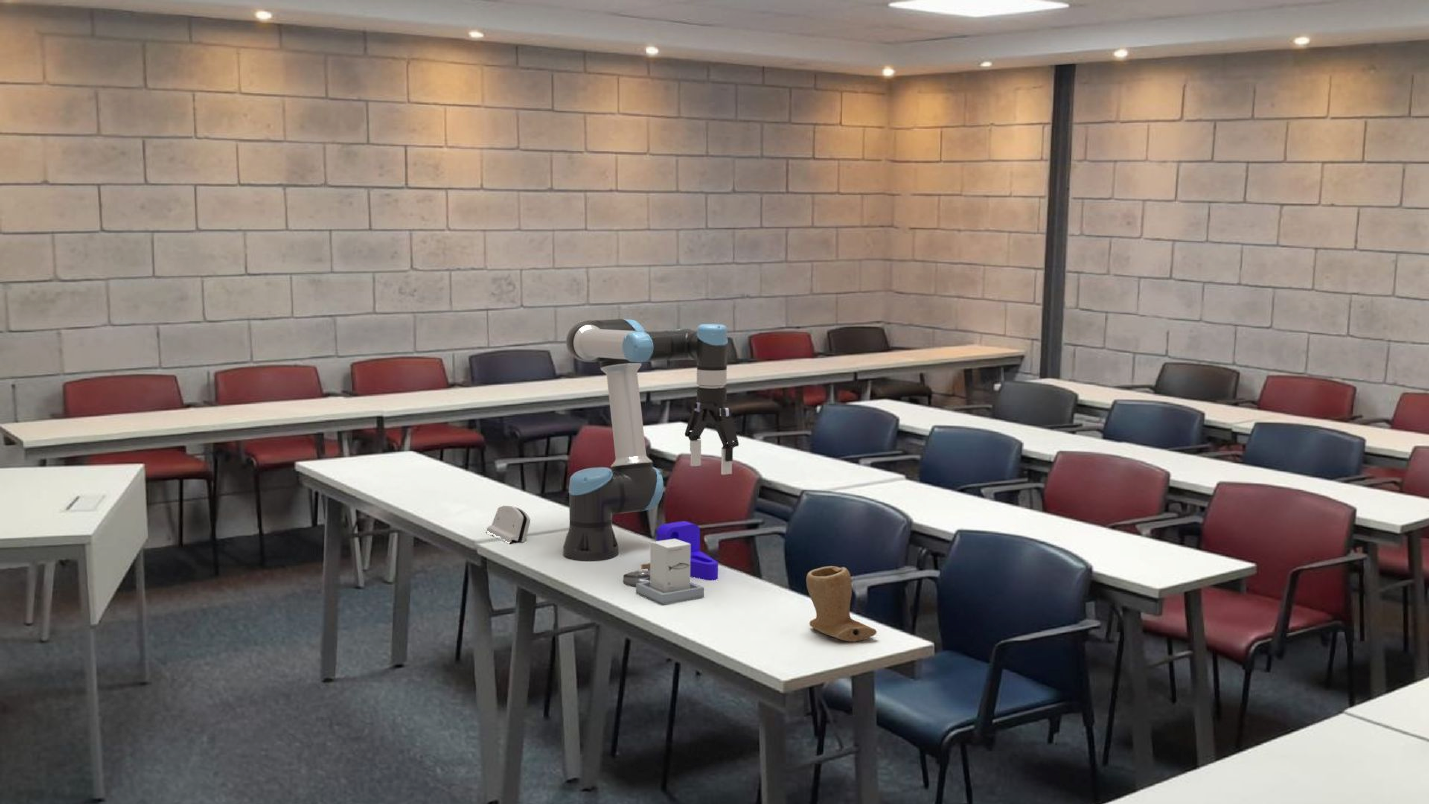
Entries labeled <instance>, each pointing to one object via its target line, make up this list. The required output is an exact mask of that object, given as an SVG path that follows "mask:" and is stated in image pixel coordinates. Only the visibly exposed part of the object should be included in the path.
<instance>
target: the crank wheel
mask: <svg viewBox="0 0 1429 804" xmlns="http://www.w3.org/2000/svg"><path fill="white" fill-rule="evenodd" d="M640 569H641V570H642V571H641V570H638V571H630V572H627V573H625V574H623V578H622V581H623V584H624V585H626V586H628V587H633V588H636V584H637V583H642V582H648V581H650V563H643V564H640Z"/></svg>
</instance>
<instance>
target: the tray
mask: <svg viewBox="0 0 1429 804" xmlns="http://www.w3.org/2000/svg"><path fill="white" fill-rule="evenodd" d="M635 594H637V595H638V594H639V595H638V596H640V597H643V598H645V597H646V598H645V599H648V600H650V601H652V602H654V603H657V604H659V605H661V606H666V605H671V604H676V603H677V604H678V603H682V602H688V601H693V600H698V599H703V598H702V597H704V598H705V586H701V585H700V584H696V583H694V582H691V581H690V589H686V590H680V591H675V592H669V593H662V592H659V591H657V590H655V589H652V588H650V581H648V582H642V583H637V584H636V587H635ZM687 600H688V601H687Z"/></svg>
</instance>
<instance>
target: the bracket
mask: <svg viewBox="0 0 1429 804" xmlns="http://www.w3.org/2000/svg"><path fill="white" fill-rule="evenodd" d="M700 529H701V528H700V526H699V525H698V524H696V523H692V522H689V521H686V520H683V521H675V522H669V523H664V524H661V525H660V526H658V528H657V530H656V541H662V540H669V539H677V540H680V541H684V542H686V543H689V544H691V559H690V578H694V577H695V579H699V578H700V580H703V581H704V580H705V581H717V580H718V579H719V561H717V560H715V559H713V557H711V556H709V555H707V554H705V552H703V551H701V549H700V546H701V542H700V541H701V540H700V539H701V532H700V531H701V530H700ZM716 579H717V580H716Z"/></svg>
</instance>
